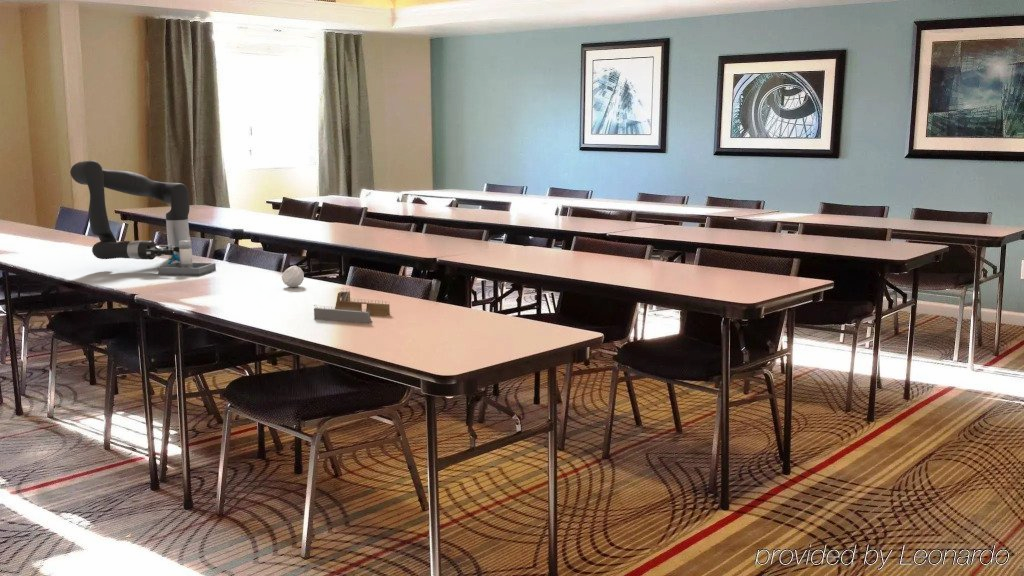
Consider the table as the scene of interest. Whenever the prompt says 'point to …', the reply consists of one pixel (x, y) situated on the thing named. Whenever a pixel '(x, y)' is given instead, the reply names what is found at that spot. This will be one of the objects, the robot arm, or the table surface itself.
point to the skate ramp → (351, 310)
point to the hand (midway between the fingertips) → (178, 250)
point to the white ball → (293, 276)
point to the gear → (173, 259)
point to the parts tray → (186, 269)
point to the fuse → (185, 254)
